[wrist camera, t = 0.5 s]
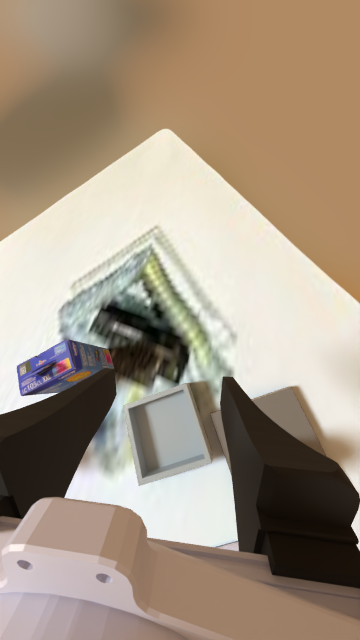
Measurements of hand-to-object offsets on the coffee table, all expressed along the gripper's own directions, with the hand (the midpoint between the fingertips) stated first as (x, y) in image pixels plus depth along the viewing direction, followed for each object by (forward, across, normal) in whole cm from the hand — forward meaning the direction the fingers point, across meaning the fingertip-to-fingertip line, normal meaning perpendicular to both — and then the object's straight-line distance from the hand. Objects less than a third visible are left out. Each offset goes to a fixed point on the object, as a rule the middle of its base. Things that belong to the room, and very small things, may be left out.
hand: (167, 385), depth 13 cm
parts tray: (+16, +2, +21) cm, 27 cm away
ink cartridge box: (+24, +20, +15) cm, 35 cm away
